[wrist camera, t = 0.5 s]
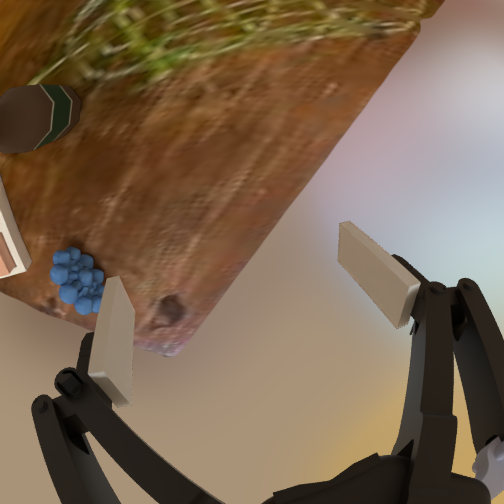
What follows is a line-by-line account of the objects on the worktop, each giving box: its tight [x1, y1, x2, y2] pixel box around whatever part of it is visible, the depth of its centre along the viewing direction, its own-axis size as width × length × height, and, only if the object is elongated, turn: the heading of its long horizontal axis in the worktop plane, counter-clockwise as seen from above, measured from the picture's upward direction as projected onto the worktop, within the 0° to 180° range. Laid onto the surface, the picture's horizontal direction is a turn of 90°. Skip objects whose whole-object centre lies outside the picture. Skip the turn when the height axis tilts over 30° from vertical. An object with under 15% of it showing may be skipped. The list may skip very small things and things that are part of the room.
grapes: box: [50, 247, 105, 315], centre depth 37 cm, size 12×7×12 cm, turn 25°
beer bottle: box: [0, 84, 81, 153], centre depth 20 cm, size 8×8×24 cm
